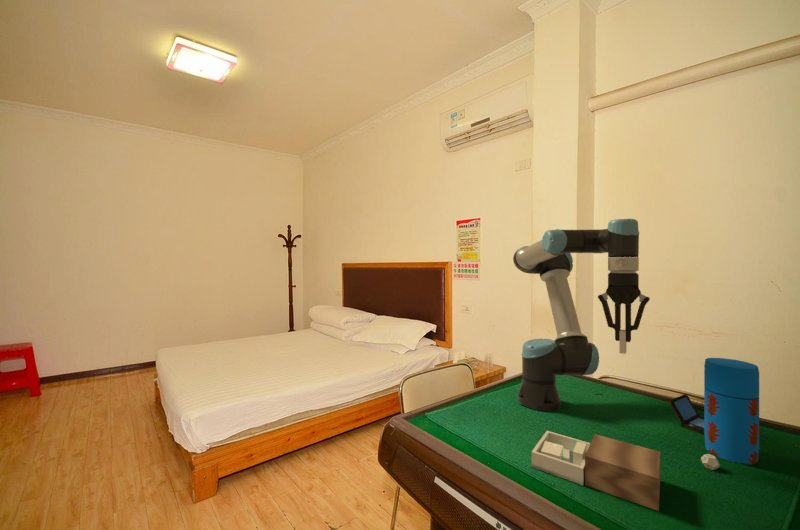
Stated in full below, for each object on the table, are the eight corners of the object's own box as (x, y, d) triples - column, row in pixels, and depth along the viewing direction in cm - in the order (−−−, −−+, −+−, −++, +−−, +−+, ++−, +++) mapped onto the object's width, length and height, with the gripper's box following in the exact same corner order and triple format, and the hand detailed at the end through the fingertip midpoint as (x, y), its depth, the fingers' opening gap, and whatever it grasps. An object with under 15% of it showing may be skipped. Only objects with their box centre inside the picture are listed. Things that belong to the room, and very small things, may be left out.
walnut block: (585, 485, 81) (585, 455, 81) (594, 460, 92) (594, 434, 92) (658, 511, 73) (658, 478, 73) (660, 480, 83) (660, 451, 83)
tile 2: (582, 472, 85) (569, 468, 87) (586, 460, 90) (573, 457, 92) (582, 454, 85) (569, 450, 87) (586, 443, 90) (573, 440, 92)
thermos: (694, 444, 99) (694, 358, 99) (727, 442, 100) (727, 357, 100) (733, 466, 89) (734, 369, 88) (771, 463, 90) (771, 368, 89)
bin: (531, 467, 89) (531, 451, 89) (546, 444, 100) (546, 430, 100) (583, 485, 81) (583, 468, 81) (593, 458, 92) (593, 444, 92)
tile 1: (559, 456, 87) (559, 468, 87) (563, 445, 92) (563, 456, 92) (540, 451, 89) (540, 462, 89) (545, 440, 94) (545, 451, 94)
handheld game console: (710, 437, 104) (710, 413, 104) (668, 422, 113) (668, 400, 113) (726, 427, 110) (726, 404, 110) (685, 414, 119) (685, 393, 119)
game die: (700, 461, 91) (700, 450, 91) (719, 467, 88) (719, 455, 88) (700, 468, 88) (700, 456, 88) (720, 473, 86) (720, 461, 86)
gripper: (595, 272, 101) (595, 351, 102) (649, 272, 93) (649, 359, 94) (599, 271, 107) (599, 346, 108) (651, 272, 99) (651, 353, 99)
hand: (623, 352), depth 101 cm, fingers closed
